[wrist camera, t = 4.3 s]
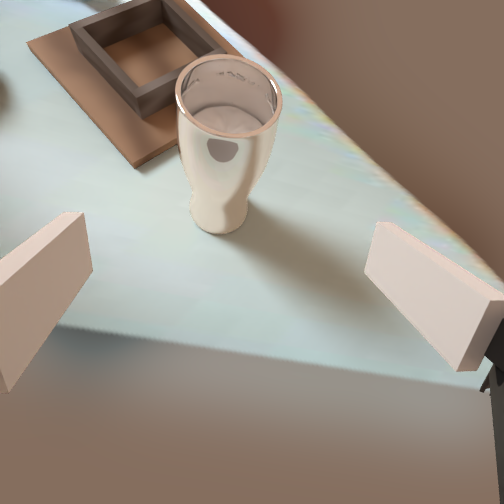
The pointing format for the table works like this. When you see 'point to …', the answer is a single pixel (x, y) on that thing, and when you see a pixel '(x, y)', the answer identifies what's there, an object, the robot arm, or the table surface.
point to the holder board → (130, 69)
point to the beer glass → (224, 135)
